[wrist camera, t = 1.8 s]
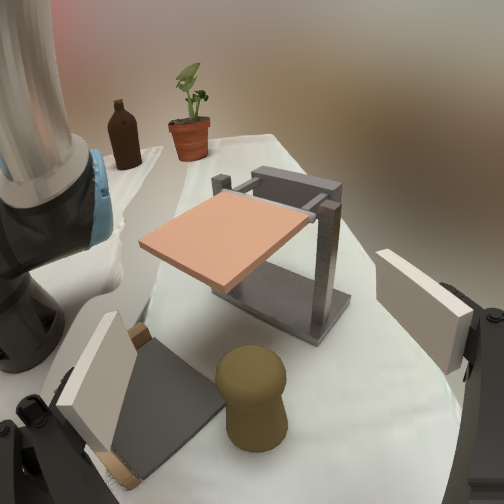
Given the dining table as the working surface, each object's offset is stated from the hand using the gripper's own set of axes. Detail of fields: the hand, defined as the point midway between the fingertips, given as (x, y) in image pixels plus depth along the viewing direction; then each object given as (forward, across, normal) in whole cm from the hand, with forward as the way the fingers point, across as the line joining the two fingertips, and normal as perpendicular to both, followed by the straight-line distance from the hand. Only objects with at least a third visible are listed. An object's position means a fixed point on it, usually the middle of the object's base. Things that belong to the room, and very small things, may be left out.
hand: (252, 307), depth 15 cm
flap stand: (+24, +4, -13) cm, 28 cm away
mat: (+10, -13, -15) cm, 23 cm away
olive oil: (+98, -33, +10) cm, 104 cm away
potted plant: (+96, -9, +7) cm, 97 cm away
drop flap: (+18, +1, -2) cm, 18 cm away
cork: (+7, -2, -17) cm, 19 cm away
